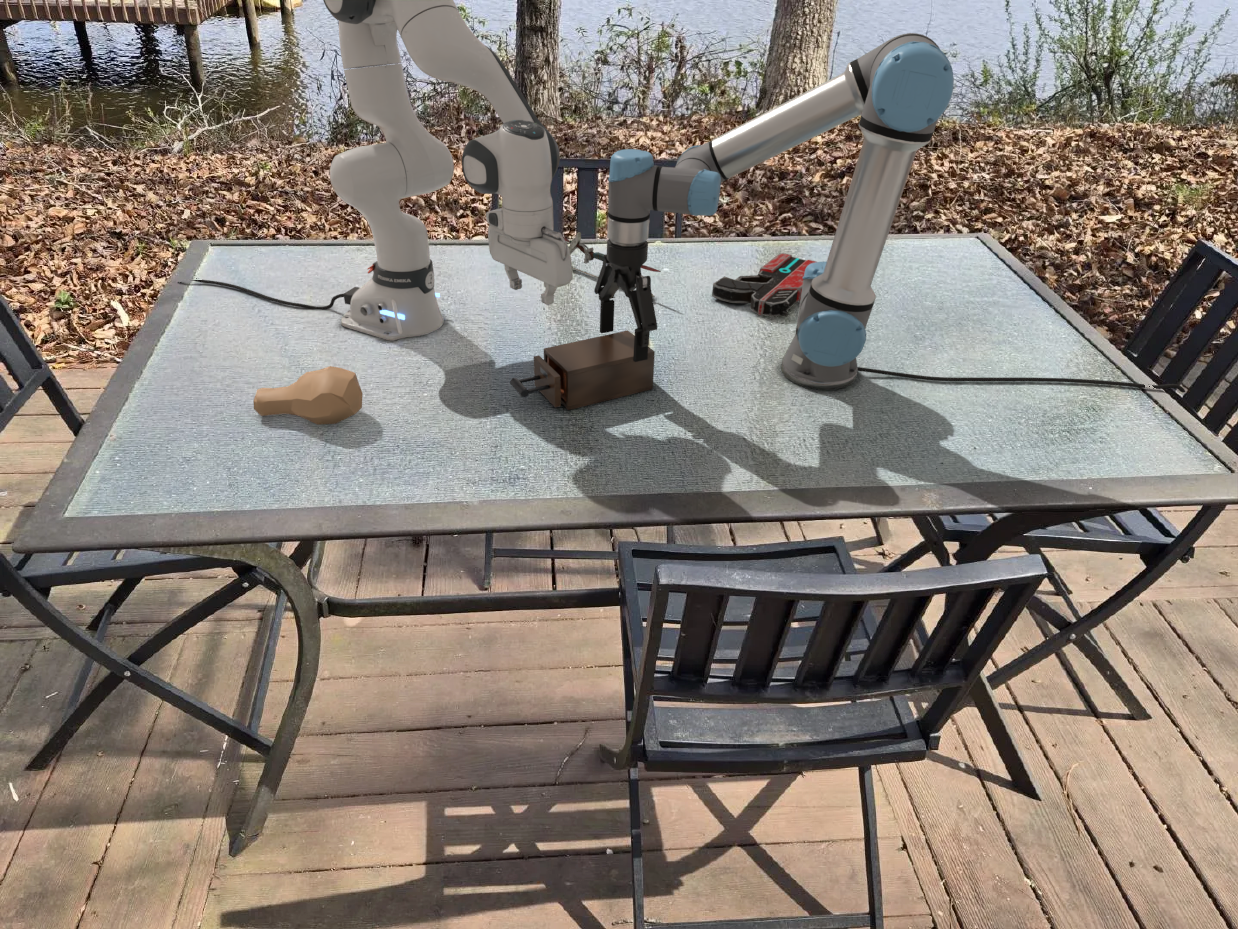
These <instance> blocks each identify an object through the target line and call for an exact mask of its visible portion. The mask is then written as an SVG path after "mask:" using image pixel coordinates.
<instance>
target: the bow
mask: <svg viewBox="0 0 1238 929" xmlns="http://www.w3.org/2000/svg"><path fill="white" fill-rule="evenodd" d="M562 237H563V238H564V239H565V241H566V242H567V243H569V245H568V247H569V250H570V255H571V256H572V254H573V252H574V251H576V250H577V249H578V250H579V251H580V252H581V253H583V254H584V258H583V264H585V265H586V264H589V263H590V262H591V261H593V260H594V259H595V260H598V261H601V262H603V256H604V255H605V254H606V253H605V254H604V253H602V252H597V251H596V252H595V251H594V247H588V246H587V244H585V243H582V242H581V241H582V233H581V231H580V232H577V233H576V235H575V237H574V238H573V239H571V240H569V239H568V238H566V237H564V236H562ZM641 269H642V270H646V271H648V272H649V271H650V272H655V273H661V272H662V270H659V269H656V268H654V267H651V266H648V265H645V264H643V265H642V266H641ZM572 270H576V271H577V272H578V271H579V272H581V273H584V274H587V275H589V276H592V277H595V278H597V279H598V277H599V276H596V275H594V274H591V273H588V272H585V271H584V270H581V269H577V268H575V267H573V266H572ZM632 291H633V290H632ZM652 298H655V295H654V294H653V293H652Z"/></svg>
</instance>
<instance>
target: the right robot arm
mask: <svg viewBox="0 0 1238 929" xmlns="http://www.w3.org/2000/svg"><path fill="white" fill-rule="evenodd" d="M954 83H955V78H954V71H953V67H952V65H951V62H950V60H949V58H948V56H947V55H946V54H945V53H944V52H943V50H941V48H940V47H939V45H938V44H937V43H936V42H935V41H934V40H933V39H932V38H930V37H929V36H927V35H924V34H921V33H918V32H917V33H916V32H907V33H902V34H899V35H896V36H893V37H892V38H890V39H888V40H886V41H885V42H883V43H881V44H880V45H878V46H877V47H875V48H873V49H872V50H870V51H868V52H866V53H865V54H863V55H861V56H859V57H858V58H856V59H854V60H852V61H850V62H848V63H847V65H846V67H845V70H844V71H843V72H842V73H840V74H838V75H836V76H834V77H832V78H830V79H829V80H826V81H824V82H823V83H821V84H819V85H817V86H815V87H813V88H811V89H809V90H807V91H805V92H803V93H801V94H799V95H796V96H795V97H793V98H791V99H789V100H787V101H785V102H783V103H781V104H780V105H777V106H776V107H773V108H772V109H770V110H768V111H766V112H764V113H762V114H760V115H758V116H756V117H754V118H752V119H750V120H748V121H747V122H746V121H745V122H743V124H740V125H739V126H736V127H735V128H733V129H730V130H729V131H726V132H724V133H723V134H721V135H719V136H717V137H714V138H712V140H709V141H707V142H705V143H703V144H701V145H700V144H699V145H692V146H690V147H688V148H687V149H686V150H684V151H683V152H682V153H681V155H680V156H679V157H678V159H677V161H676V164H675V166H674V167H672V166H671V167H670V166H661V165H655V162H654V156H653V154H651V152H649V151H647V150H641V149H636V148H625V149H619V150H617V151H615V152H614V153H613V154H612V155H611V157H610V162H609V164H610V165H609V173H608V174H609V176H608V178H607V181H608V203H607V204H608V205H607V206H608V208H607V209H608V210H607V227H606V228H607V230H606V238H607V241H606V253H605V255H604V256H603V261H602V265H601V267H600V268H601V269H600V271H599V274H598V276H597V277H598V278H597V280H596V283H595V286H594V289H593V290H594V291H593V292H594V294H595V295H598V300H599V301H600V306H599V307H600V312H599V333H600V334H606V333H611V332H614V323H615V322H614V321H615V300H614V299H615V298H616V297H615V295H616V294H617V292H618V290H619V289H621V290H622V291H623V292H624V295H625V297H626V298H628V301H629V304H630V307H631V311H632V314H633V317H634V321H635V324H636V328H634V355H633V361H634V362H638V361H643V360H647V359H648V347H649V345H650V332H653V331H657V330H658V323H657V315H656V311H655V306H654V300H653V299H654V297H652V294H653V292H652V281H651V280H652V279H651V276H650V275H642V268H641V266H642V265H645V263H646V262H647V260H648V255H649V254H648V253H649V242H648V241H647V240H648V239H649V232H650V230H649V229H650V222H651V220H650V217H651V216H650V215H651V213H650V212H651V211H653V212H662V213H663V212H664V213H673V214H680V215H689V216H690V215H691V216H693V217H699V216H705V217H711V216H713V215H715V214H716V213H717V212H718V208H719V202H720V195H721V186H722V183H723V182H725V181H727V180H729V179H730V178H733V177H735V176H737V175H739V174H741V173H743V172H745V171H747V170H749V169H751V168H754V167H755V166H757V165H759V164H762V163H764V162H765V161H768V160H770V159H771V158H774V157H776V156H778V155H780V154H782V153H784V152H786V151H788V150H791V149H792V148H795V147H797V146H799V145H801V144H803V143H805V142H807V141H810V140H811V139H814V138H815V137H819V136H820V135H822V134H823V133H826V132H828V131H830V130H832V129H834V128H837V127H838V126H841V125H842V124H845V123H846V122H848V121H851V120H852V119H855V118H857V117H859V116H860V119H859V121H858V127H859V129H860V132H861V133H862V136H863V141H862V145H861V147H860V151H859V155H858V158H857V161H856V163H855V168H854V171H853V174H852V178H851V181H850V184H849V187H848V191H847V194H846V197H845V201H844V204H843V206H842V209H841V214H840V217H839V220H838V224H837V227H836V230H835V233H834V237H833V239H832V243H831V246H830V250H829V254H828V256H827V260H826V261H816V262H815V263H811V264H809V265H808V266H807V267H806V269H805V273H804V276H803V286H802V293H801V299H800V301H799V305H798V306H799V307H798V313H797V320H796V326H795V333H794V336H793V338H792V339H791V342H790V344H789V345H788V347H787V349H786V351H785V353H784V355H783V357H782V360H781V365H780V366H781V368H780V369H781V373H782V375H783V376H784V377H785V378H786V379H787V380H789V381H791V382H792V383H794V384H796V385H799V386H801V387H804V388H808V389H813V390H819V391H820V390H821V391H831V390H832V391H833V390H841V389H844V388H847V387H849V386H851V385H853V384H854V383H855V381H856V379H857V375H858V372H864V373H872V374H880V375H886V376H892V377H900V378H906V379H907V378H908V379H914V380H923V381H936V382H1041V383H1042V382H1043V383H1044V382H1045V383H1046V382H1047V383H1074V384H1075V383H1076V384H1093V385H1106V386H1107V385H1108V386H1119V387H1120V386H1121V387H1130V388H1141V389H1146V388H1145V385H1144V384H1145V383H1135V382H1127V381H1116V380H1115V381H1113V380H1104V379H1103V380H1101V379H1087V378H1086V379H1085V378H1067V377H1066V378H1065V377H952V376H951V377H948V376H947V377H945V376H930V375H920V374H913V373H906V372H905V373H904V372H898V371H889V370H883V369H877V368H875V369H874V368H868V367H860V366H858V362H857V358H858V356H859V355H860V354H861V352H863V349H864V347H865V344H866V341H867V331H866V328H867V325H868V322H869V319H870V317H871V313H872V311H873V309H874V304H875V302H876V299H877V295H876V293H875V291H874V290H873V288H872V284H873V281H874V278H875V274H876V272H877V269H878V266H879V263H880V261H881V257H882V255H883V251H884V248H885V245H886V242H887V239H888V236H889V234H890V231H891V229H892V228H891V227H892V225H893V222H894V219H895V216H896V213H897V210H898V208H899V205H900V201H901V198H902V195H903V192H904V190H905V187H906V184H907V181H908V178H909V175H910V172H911V169H912V166H913V163H914V161H915V157H916V154H917V151H919V150H920V149H921V148H923V147H925V146H927V145H928V144H929V143H930V142H931V141H932V137H933V135H934V132H935V129H936V127H937V124H938V120H939V119H940V118H941V117H942V115H943V114H944V112H945V111H946V110H947V108H948V106H949V105H950V101H951V99H952V95H953V93H954V92H953V91H954V85H955V84H954ZM632 290H633V291H632ZM1151 385H1152V386H1153V387H1154V388H1156V389H1154V388H1153V389H1152V390H1162V389H1176V390H1178V391H1179V392H1181V393H1186V390H1185V389H1184V387H1182V386H1181V385H1179V384H1178V383H1177V384H1176V383H1166V384H1151ZM1149 387H1150V386H1149ZM1118 560H1120V561H1122V560H1123V557H1119V558H1118Z"/></svg>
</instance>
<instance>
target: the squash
mask: <svg viewBox="0 0 1238 929" xmlns="http://www.w3.org/2000/svg"><path fill="white" fill-rule="evenodd" d="M255 392H256V393H255V394H254V398H253V400H252V401H253V410H254V411H255V412H256V413H257V414H259V416H261V417H263V416H264V417H265V416H273V415H292V416H298V417H299V418H302V419H304V420H306V421H308V422H311V423H313V424H315V425H317V426H319V425H337V424H339V423H340V422H342V421H345V420H346V419H349V418H350V417H352V416H354V415H356V414H357V413H358V412H359V411H360V410H361V409H362V408H363V391H362V388H361V386H360V383H359V380H358V377H357V373H356V372H354V371H352V370H348V369H345V368H343V367H337V366H332V365H329V366H326V367H323V368H320V369H317V370H312V371H311V370H310V371H306V372H305V373H303V374H302V375H300V376H298V379H297V380H296V381H295V382H293V383H291V384H289V385H288V386H280V387H273V388H272V387H260V388H257V389H256V391H255Z"/></svg>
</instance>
